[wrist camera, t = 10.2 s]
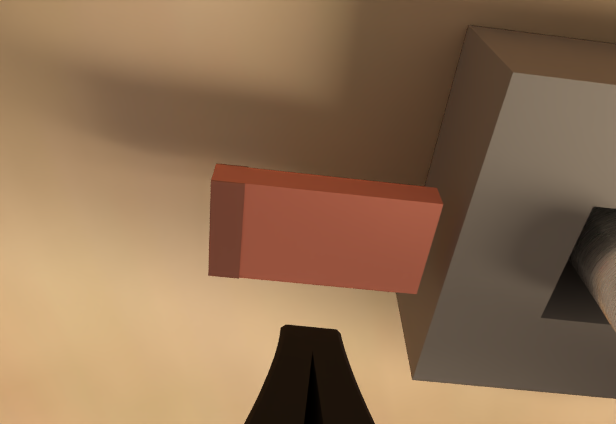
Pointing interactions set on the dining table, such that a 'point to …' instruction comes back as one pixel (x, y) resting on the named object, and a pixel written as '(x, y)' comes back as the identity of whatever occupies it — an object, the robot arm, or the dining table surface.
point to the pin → (598, 259)
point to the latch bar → (320, 229)
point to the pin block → (518, 219)
